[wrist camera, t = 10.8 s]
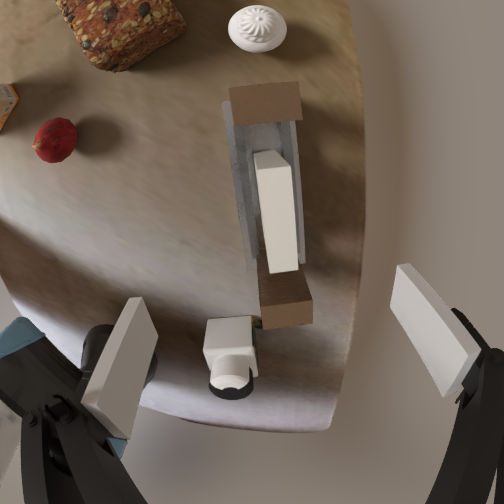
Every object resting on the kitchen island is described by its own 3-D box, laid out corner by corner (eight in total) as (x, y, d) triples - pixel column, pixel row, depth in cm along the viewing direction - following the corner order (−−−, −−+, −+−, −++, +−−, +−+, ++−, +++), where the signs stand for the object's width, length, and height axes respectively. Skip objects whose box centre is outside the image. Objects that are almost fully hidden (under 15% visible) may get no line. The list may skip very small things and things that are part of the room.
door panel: (281, 220, 35) (298, 269, 24) (262, 223, 35) (269, 273, 24) (274, 149, 31) (290, 166, 20) (253, 151, 31) (257, 169, 20)
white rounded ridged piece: (274, 65, 27) (281, 51, 20) (223, 52, 26) (217, 36, 19) (288, 24, 24) (299, 3, 18) (238, 11, 23) (237, -12, 17)
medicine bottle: (256, 345, 46) (260, 403, 35) (215, 348, 46) (210, 405, 35) (252, 314, 42) (254, 375, 32) (207, 318, 43) (198, 378, 32)
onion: (70, 108, 27) (34, 111, 20) (94, 132, 29) (60, 139, 22) (50, 141, 29) (14, 151, 22) (73, 165, 31) (38, 179, 24)
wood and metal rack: (304, 260, 38) (326, 321, 27) (247, 267, 39) (248, 331, 27) (290, 94, 28) (318, 80, 17) (222, 102, 29) (207, 91, 17)
